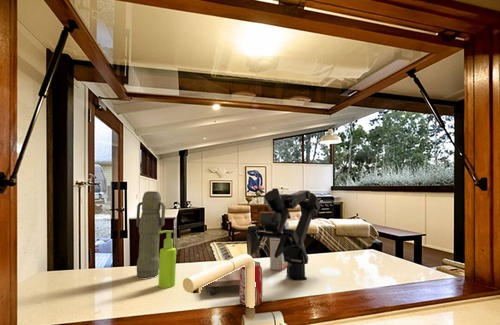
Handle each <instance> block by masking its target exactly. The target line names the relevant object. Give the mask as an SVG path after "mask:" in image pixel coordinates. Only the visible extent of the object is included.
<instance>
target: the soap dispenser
mask: <svg viewBox="0 0 500 325" xmlns="http://www.w3.org/2000/svg"><path fill="white" fill-rule="evenodd" d="M158 233H160V235H162V234H165V233H166V237H165V239H164V240H163V248H159V260H160V261H159V272H158V273H159V275H158V284H157V285H158V288H161V289H168V288H172V287H175V285H176V265H177V264H176V263H177V262H176V261H177V248H176V247H174V238H172V233H174V230H171V229H169V230H168V229H165V230H161V231H160V232H158Z"/></svg>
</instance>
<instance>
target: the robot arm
mask: <svg viewBox="0 0 500 325" xmlns="http://www.w3.org/2000/svg"><path fill="white" fill-rule="evenodd" d="M263 198H264V201H265V203H266V205H267V206H268V208H269V209H268V210H269V211H271V212H273V213H270V212H261V213H260V216H259V220H258V222H259V223H260V224H262V228H263V229H264V230H261V229H260V227H259V226H253V225H251V226H248V227H247V229H246V234H247V236H248V237H249V239H250V241H251V245H250V254H251V255H254V254H255V253H256V251H257V250H258V248H259V247H260V245H261V243H262V242H261V241H263V238H269V239H270V238H274V239H280V242H279V245H278V247H277V249H276V252H275V255H274V256H275V258H277V257H278V256H280V255H281V254H282V253H283V256H284V261H285V262H288V266H287V267H286V275H285V276H286V277H287V278H288V279H290V280H291V281H303V280H308V278H307V276H306V269H305V268H306V265H308V262H309V256H308V254H307V252H306V247H305V244H304V243H305V239H306V237H307V233H308V232H309V227H310V226H311V221H312V218H313V217H315V216H317V215H318V213H319V210H320V208H321V203H320V201H319V199H318V198H317V197H316V196H315V195H314V194H312V193H311V191H310V190H306V189H305V190H299V191H297V192H294V193H291V194H287V193H285V194H283V193H280V191H279V189H278V187H277V188H274V187H273V188H272V190H269V191H267V192H266V193H265V194H264V195H263ZM298 206H299V207H300V212H301V214H300V217H299V220H298V222H297V225H296V228H295V229H294V228H289V229H285V228H286V227H285V223H286V222H288V220H291V215H290V210H294V209H295V208H296V207H298ZM282 232H283V233H282Z"/></svg>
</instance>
